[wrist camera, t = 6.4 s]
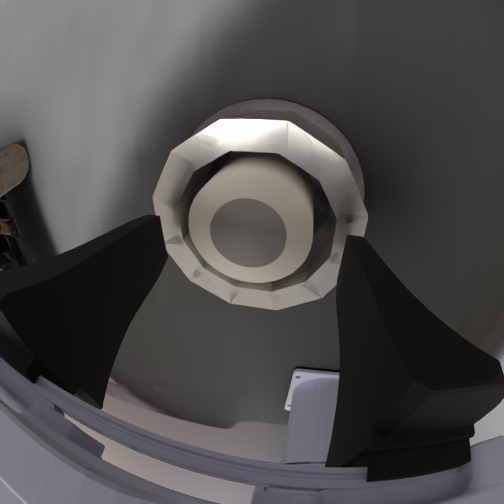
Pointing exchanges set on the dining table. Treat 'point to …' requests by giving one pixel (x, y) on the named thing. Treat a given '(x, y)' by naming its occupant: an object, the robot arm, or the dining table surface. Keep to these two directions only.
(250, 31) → the dining table surface
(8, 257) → the vintage camera
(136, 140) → the dining table surface
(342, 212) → the lens barrel
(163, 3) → the dining table surface
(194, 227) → the beige short cylinder
